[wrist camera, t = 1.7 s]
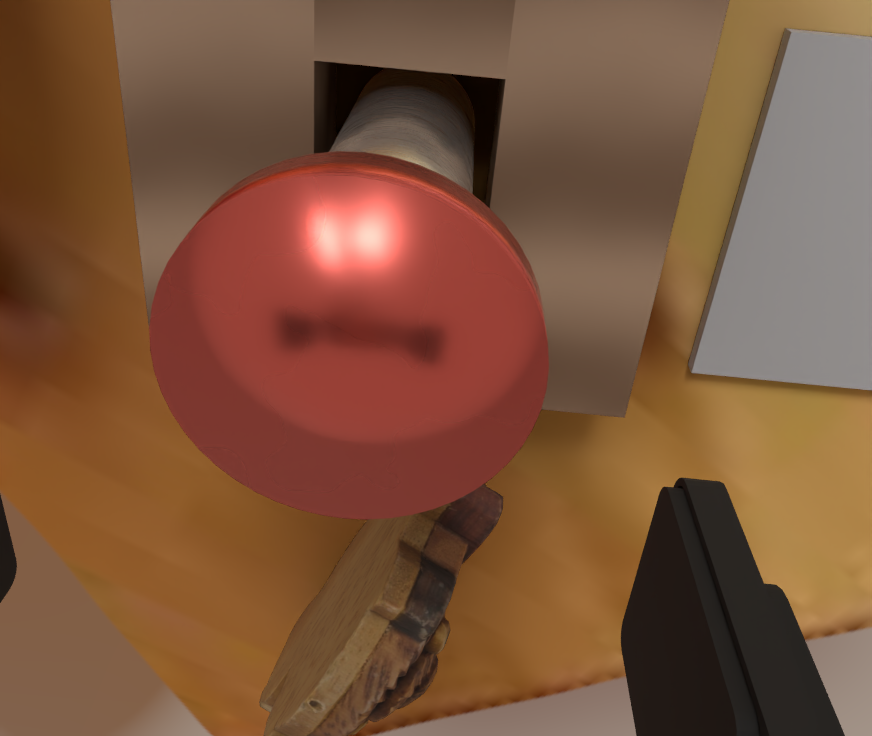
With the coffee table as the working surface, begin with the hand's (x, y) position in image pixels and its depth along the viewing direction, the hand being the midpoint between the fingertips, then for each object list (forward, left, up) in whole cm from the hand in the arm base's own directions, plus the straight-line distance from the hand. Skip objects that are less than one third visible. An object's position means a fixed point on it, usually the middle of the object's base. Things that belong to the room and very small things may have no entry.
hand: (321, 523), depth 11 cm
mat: (+2, +16, -19) cm, 24 cm away
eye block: (0, 0, -19) cm, 19 cm away
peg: (0, 0, -19) cm, 19 cm away
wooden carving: (+18, 0, -19) cm, 26 cm away
